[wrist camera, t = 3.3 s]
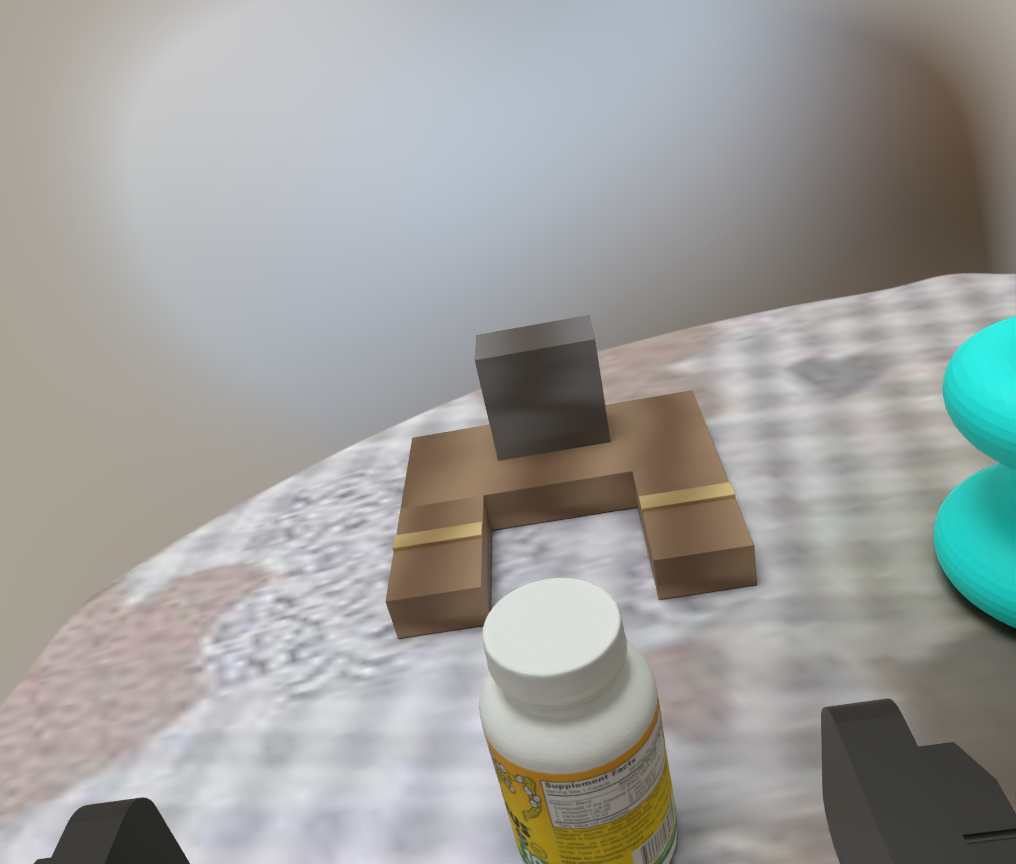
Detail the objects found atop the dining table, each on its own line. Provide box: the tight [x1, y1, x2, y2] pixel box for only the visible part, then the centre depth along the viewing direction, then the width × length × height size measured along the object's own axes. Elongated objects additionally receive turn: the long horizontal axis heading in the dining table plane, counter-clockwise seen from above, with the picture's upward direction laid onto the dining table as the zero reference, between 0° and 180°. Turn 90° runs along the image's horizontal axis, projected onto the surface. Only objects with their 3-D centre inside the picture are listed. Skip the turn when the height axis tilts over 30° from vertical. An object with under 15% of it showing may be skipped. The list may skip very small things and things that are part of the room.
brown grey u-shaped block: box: [386, 315, 757, 638], centre depth 44 cm, size 16×14×8 cm
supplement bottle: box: [479, 578, 677, 864], centre depth 28 cm, size 5×5×10 cm
